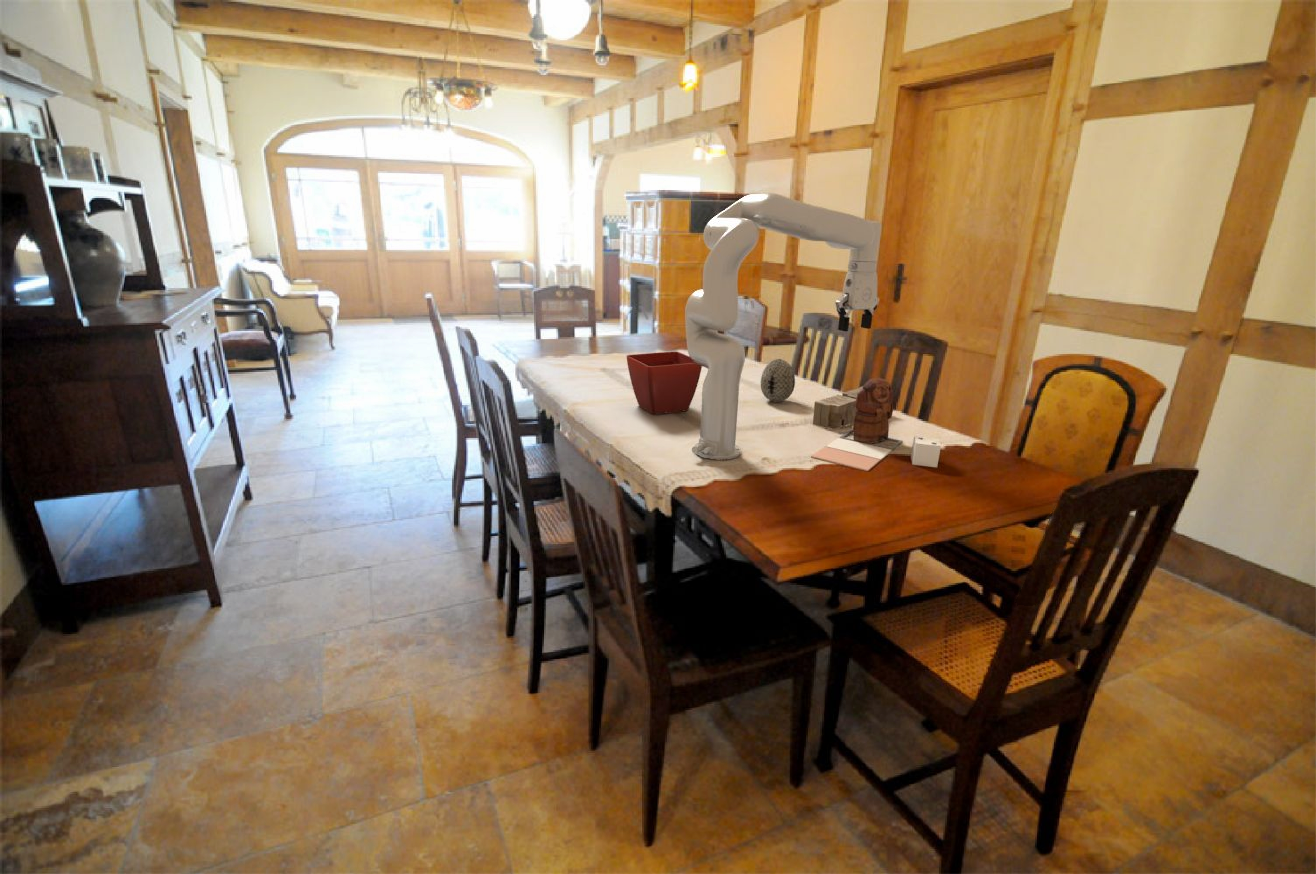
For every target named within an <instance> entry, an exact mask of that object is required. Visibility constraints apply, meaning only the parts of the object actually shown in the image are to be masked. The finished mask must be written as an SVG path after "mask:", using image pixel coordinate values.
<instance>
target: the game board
mask: <svg viewBox="0 0 1316 874" xmlns="http://www.w3.org/2000/svg"><path fill="white" fill-rule="evenodd" d="M852 433H853V429H849V430H848V431H846V433H845V432H844V434H843V435H841V436H839V437H838V438H836V439H834V440H833V441H831V442H830V443H828V444H827V445H826V446H824V447H823V448H821V449H820V450H818V451H816V452H814V454H812V455H810V457H811V458H813V459H816V460H821V461H824V462H828V463H832V464H836V465H841V466H843V467H844V466H845V467H849V468H853V469H857V470H860V471H864V472H869V471H871V469H873V467H875V466H876V465H878V463H880V462H881V461H882V460H883V459H884V458H886V456H888V455H889V454H891V452H892V451H894V450H895V449H896V448H897V447H898V446H900V445H901V444H902V443H903V441H904V440H902V439H901V440H900V439H897V438H892V437H888V438H884V440H887V441H892V442H896V443H895V444H894V445H892V446H891V447H888V446H884V445H879V444H876V443H865V442H859V441H855V440H854V439H852V438H848V437H847V436H849V435H850V434H852Z"/></svg>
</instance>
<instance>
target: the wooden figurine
mask: <svg viewBox="0 0 1316 874" xmlns="http://www.w3.org/2000/svg"><path fill="white" fill-rule="evenodd" d="M862 387H863V389H862V390H861V391H860V392H859V393H858V394H857V399H856V404H855V406H856V409H857V410H858V411H857V412H856V415H855V418H854V423H853V427H852V430H853V432H852V433H853V436H852V437H853V440H855V441H859V442H865V443H871V444H876V443H877V444H878V442H881V441H884V440H885V439H884V438H889V433H890V432H889V431H890V427H889V423H890V422H889V420H890V419H891V418H892V415H893V411H894V404H893V402H894V397H895V396H894V389H893V388H892V387H891V384H890V382H889V381H887V379H883V378H881V377H873V378H870V379H869V380H867V381H866V382H865V383H864V384H863V386H862Z"/></svg>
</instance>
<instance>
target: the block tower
mask: <svg viewBox="0 0 1316 874" xmlns="http://www.w3.org/2000/svg"><path fill="white" fill-rule="evenodd" d="M862 389H863V386H859V387H858V388H855V389H851V390H848V391H845V392H842V395H841V394H836V395H833V396H831V397H830V396H829V397H826V398H822V399H819V400H815V401H814V406H813V418H812V425H814V426H818V427H822V428H826V429H827V428H831V429H834V430H838V429H840V428H842V427H846V426H848V425H851V424H854V418H855V415H856V412H857V411H858V410H857V409H856V406H855V404H856V399H857V394H858V393H859V392H860V391H861V390H862Z"/></svg>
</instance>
